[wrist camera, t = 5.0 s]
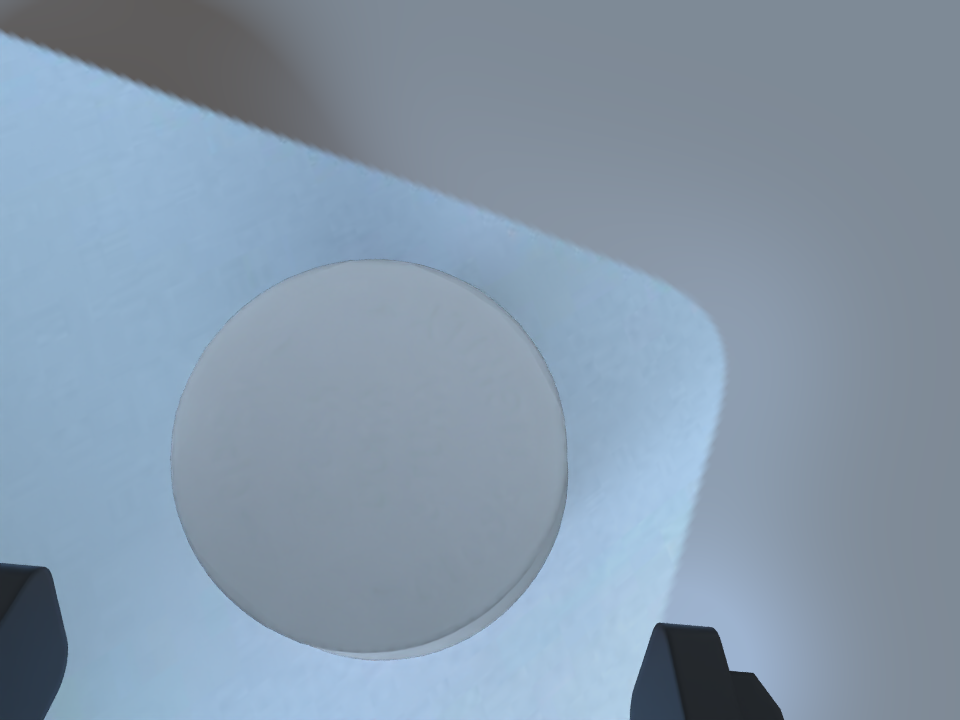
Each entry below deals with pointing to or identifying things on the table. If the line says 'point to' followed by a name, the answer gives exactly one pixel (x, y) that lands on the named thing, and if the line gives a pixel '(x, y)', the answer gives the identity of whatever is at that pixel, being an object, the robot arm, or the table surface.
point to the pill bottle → (371, 459)
